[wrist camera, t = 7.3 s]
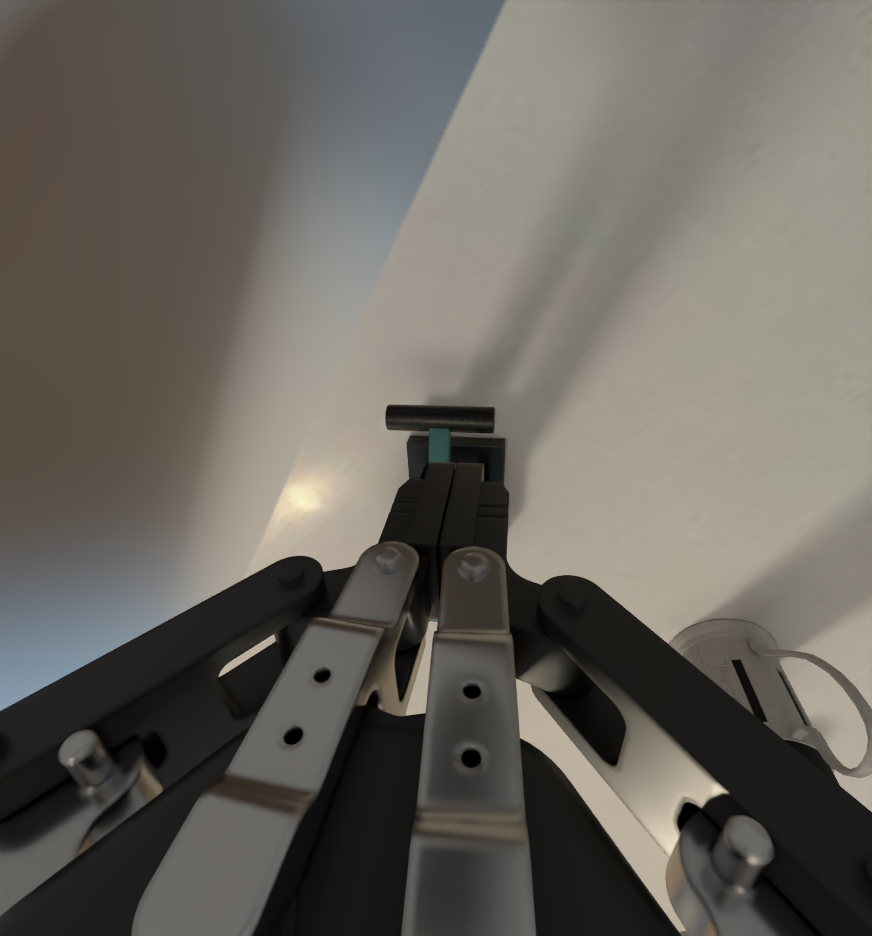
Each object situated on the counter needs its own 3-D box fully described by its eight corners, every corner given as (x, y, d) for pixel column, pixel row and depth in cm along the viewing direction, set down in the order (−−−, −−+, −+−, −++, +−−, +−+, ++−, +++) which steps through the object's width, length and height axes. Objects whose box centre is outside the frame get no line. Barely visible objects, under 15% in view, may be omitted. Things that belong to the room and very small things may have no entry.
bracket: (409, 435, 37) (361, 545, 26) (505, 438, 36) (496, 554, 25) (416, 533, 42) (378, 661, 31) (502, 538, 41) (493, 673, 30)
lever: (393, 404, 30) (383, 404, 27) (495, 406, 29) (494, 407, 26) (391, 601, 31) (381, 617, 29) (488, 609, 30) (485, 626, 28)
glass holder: (649, 675, 46) (697, 869, 33) (722, 559, 38) (821, 752, 26) (745, 698, 45) (832, 904, 33) (838, 586, 38) (997, 795, 25)
